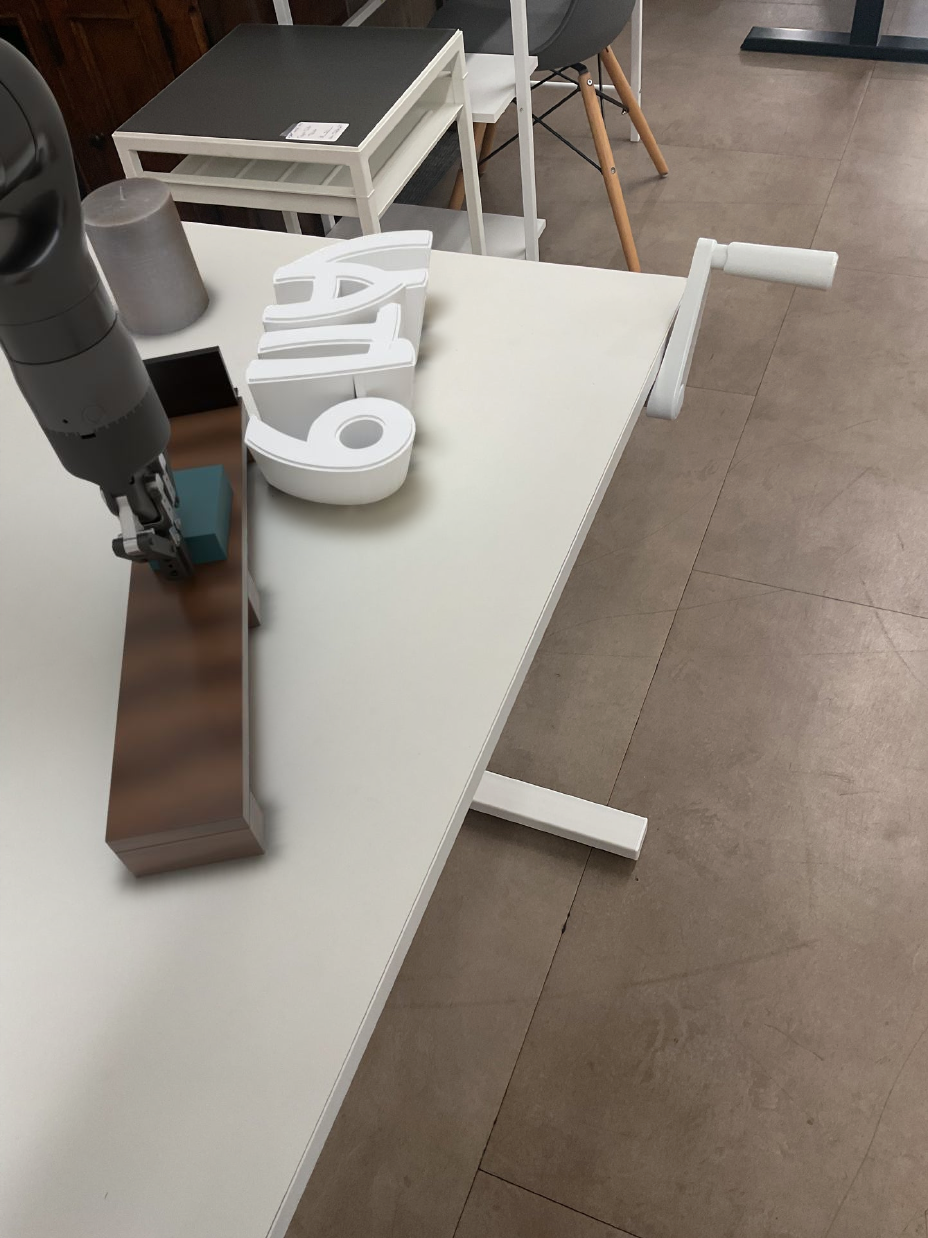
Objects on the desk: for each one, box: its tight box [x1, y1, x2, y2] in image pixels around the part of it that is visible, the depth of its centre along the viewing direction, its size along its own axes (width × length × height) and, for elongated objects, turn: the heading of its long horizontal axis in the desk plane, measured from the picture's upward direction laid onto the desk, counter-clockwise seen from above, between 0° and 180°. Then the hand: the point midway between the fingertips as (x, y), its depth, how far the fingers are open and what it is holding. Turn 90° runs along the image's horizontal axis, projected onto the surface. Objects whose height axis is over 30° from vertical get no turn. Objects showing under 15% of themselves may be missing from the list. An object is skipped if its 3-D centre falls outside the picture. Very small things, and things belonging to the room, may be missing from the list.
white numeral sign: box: [245, 229, 434, 506], centre depth 95 cm, size 35×16×11 cm, turn 175°
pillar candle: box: [81, 176, 210, 337], centre depth 108 cm, size 10×10×15 cm
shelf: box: [104, 395, 266, 879], centre depth 81 cm, size 44×9×6 cm, turn 8°
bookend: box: [142, 345, 239, 418], centre depth 90 cm, size 2×8×6 cm, turn 98°
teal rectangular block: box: [148, 464, 233, 570], centre depth 81 cm, size 8×6×3 cm
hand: (181, 573), depth 77 cm, fingers closed
